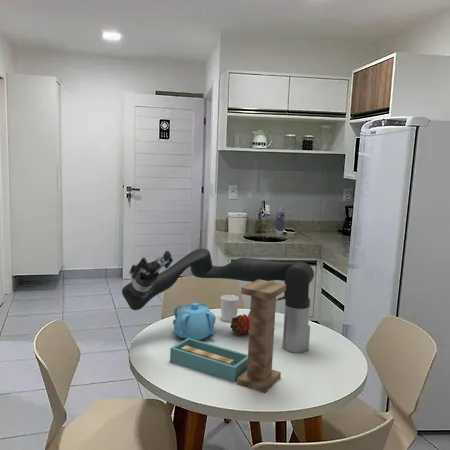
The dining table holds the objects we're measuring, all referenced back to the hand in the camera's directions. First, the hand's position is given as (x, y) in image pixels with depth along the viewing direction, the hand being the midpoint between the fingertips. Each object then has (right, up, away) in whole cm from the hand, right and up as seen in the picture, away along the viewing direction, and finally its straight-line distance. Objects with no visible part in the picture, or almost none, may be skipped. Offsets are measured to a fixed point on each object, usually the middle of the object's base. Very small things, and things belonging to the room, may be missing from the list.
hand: (156, 256), depth 145 cm
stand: (+33, -41, +2) cm, 52 cm away
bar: (+15, -38, +11) cm, 42 cm away
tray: (+17, -39, +11) cm, 43 cm away
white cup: (+24, -32, +57) cm, 69 cm away
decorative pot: (+9, -35, +36) cm, 51 cm away
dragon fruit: (+29, -35, +41) cm, 61 cm away
